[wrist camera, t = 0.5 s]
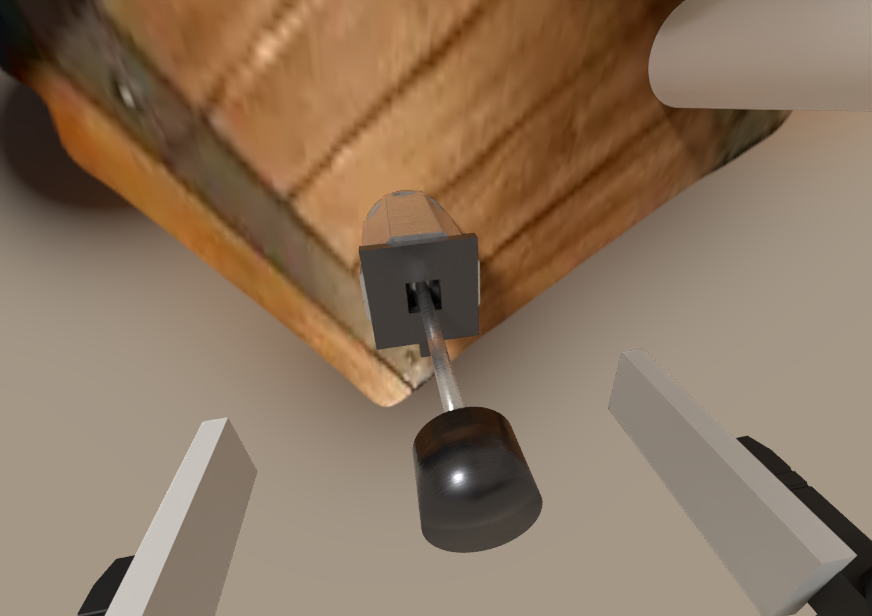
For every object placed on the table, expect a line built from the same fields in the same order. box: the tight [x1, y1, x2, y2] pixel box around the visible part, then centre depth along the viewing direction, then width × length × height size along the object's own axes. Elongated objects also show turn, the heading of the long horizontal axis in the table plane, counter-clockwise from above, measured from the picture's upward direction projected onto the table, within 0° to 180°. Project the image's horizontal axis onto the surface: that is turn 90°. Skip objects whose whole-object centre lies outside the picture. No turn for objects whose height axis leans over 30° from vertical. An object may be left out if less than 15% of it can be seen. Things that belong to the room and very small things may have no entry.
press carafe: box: [359, 190, 480, 357], centre depth 35 cm, size 12×10×15 cm
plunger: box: [405, 280, 542, 553], centre depth 22 cm, size 7×7×20 cm
